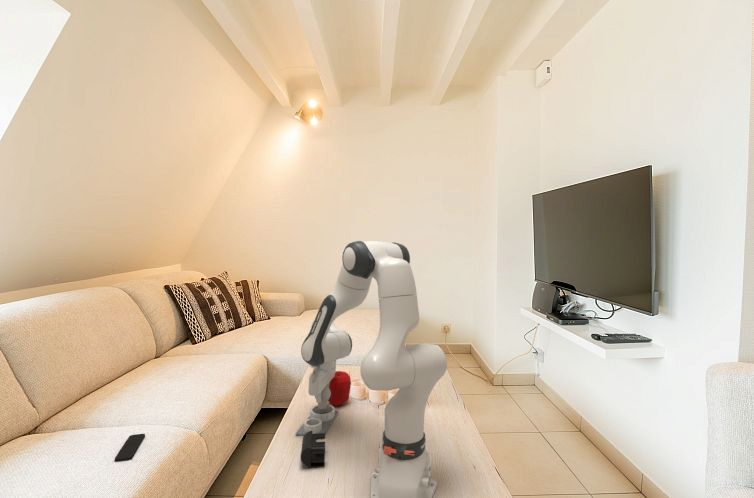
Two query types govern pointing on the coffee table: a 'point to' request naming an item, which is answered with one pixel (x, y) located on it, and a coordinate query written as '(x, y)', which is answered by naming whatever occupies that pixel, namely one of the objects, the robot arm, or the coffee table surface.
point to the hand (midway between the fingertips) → (322, 397)
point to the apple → (339, 388)
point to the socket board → (318, 421)
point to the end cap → (313, 450)
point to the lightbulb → (324, 400)
